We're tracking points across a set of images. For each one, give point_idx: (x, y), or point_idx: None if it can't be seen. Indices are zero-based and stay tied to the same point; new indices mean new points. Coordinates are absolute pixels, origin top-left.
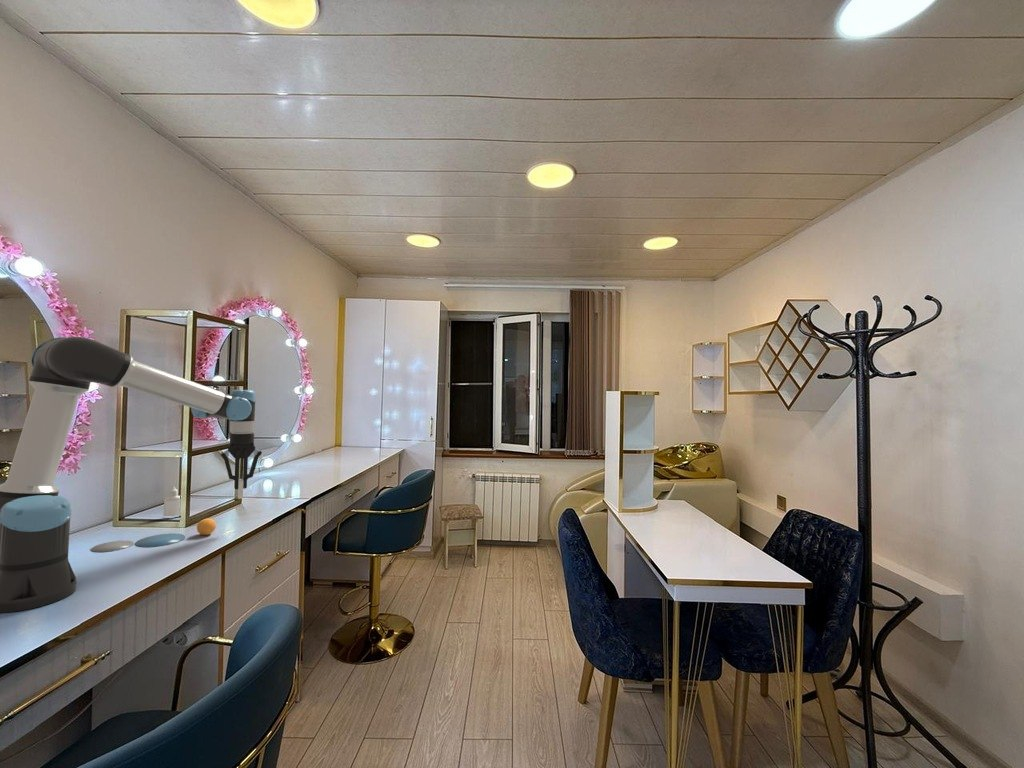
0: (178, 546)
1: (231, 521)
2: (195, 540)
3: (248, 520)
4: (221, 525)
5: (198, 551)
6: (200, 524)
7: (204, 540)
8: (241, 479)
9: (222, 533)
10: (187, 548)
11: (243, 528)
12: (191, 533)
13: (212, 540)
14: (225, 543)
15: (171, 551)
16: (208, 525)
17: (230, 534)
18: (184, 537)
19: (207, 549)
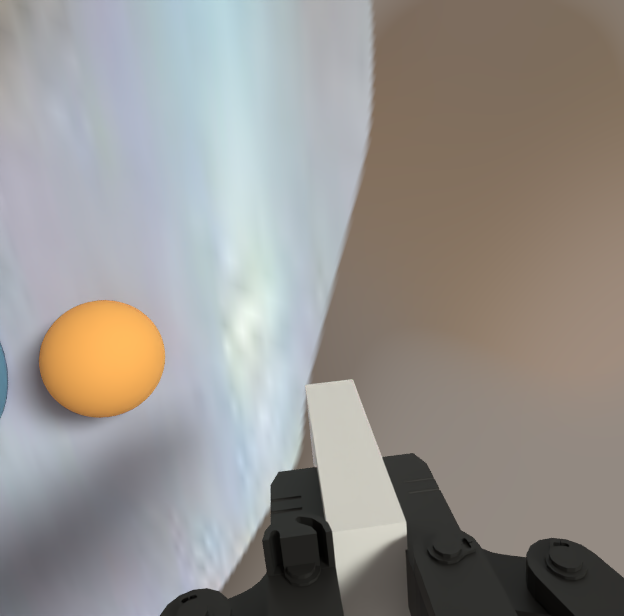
0: (21, 507)
1: (240, 46)
2: (85, 433)
3: (360, 69)
4: (181, 142)
5: (143, 604)
6: (63, 405)
7: (135, 448)
8: (382, 560)
9: (214, 346)
10: (78, 550)
11: (330, 279)
12: (20, 277)
13: (178, 462)
14: (251, 530)
15: (12, 570)
16: (121, 413)
17: (262, 383)
18: (4, 370)
19: (179, 589)
